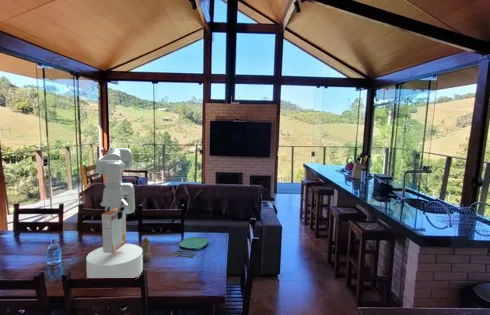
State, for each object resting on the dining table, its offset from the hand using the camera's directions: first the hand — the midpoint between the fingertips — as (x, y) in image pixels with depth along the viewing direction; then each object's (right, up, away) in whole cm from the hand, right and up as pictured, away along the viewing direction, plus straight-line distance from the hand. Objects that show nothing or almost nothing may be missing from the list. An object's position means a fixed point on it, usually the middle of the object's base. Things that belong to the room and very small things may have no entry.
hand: (114, 218), depth 162 cm
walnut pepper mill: (+10, -29, +21) cm, 37 cm away
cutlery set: (+34, -29, +41) cm, 60 cm away
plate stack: (-1, -31, +3) cm, 32 cm away
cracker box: (0, -17, +2) cm, 17 cm away
